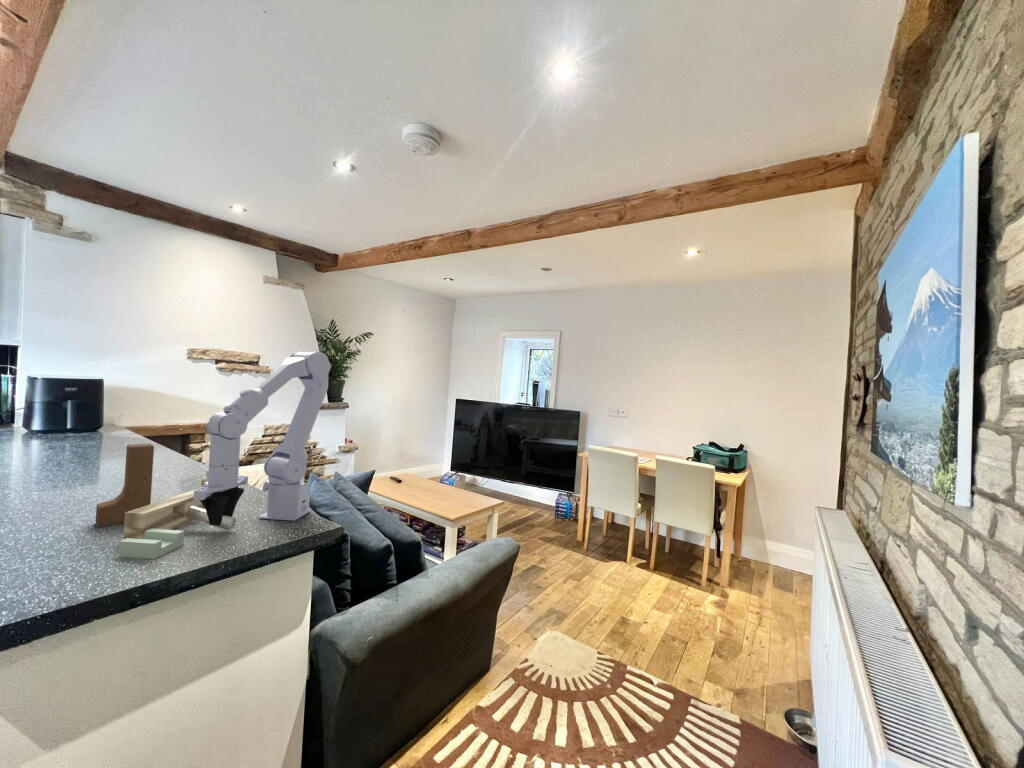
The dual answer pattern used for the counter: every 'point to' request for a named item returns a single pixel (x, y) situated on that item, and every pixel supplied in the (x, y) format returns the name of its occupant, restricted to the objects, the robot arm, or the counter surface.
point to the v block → (151, 544)
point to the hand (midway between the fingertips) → (220, 522)
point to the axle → (201, 516)
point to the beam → (159, 515)
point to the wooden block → (130, 486)
